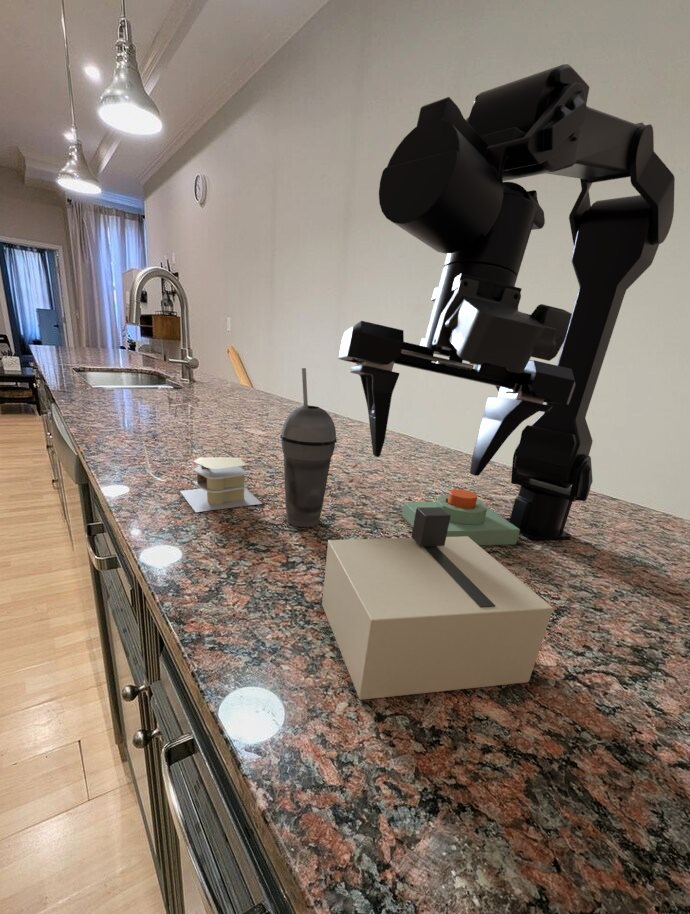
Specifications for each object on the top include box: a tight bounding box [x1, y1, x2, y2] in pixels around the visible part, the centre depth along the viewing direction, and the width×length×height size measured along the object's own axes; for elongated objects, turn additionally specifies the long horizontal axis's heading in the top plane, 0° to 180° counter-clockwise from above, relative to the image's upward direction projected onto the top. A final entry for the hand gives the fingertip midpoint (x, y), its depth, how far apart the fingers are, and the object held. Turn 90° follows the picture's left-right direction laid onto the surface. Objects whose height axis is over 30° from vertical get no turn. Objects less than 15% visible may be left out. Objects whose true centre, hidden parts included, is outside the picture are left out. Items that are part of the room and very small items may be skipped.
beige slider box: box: [321, 536, 554, 701], centre depth 38 cm, size 14×12×7 cm
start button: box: [448, 488, 479, 509], centre depth 60 cm, size 4×4×2 cm
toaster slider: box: [411, 507, 451, 546], centre depth 40 cm, size 2×2×3 cm
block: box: [401, 494, 520, 546], centre depth 61 cm, size 12×10×4 cm
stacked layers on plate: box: [179, 456, 263, 513], centre depth 66 cm, size 10×9×6 cm
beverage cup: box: [279, 367, 338, 528], centre depth 58 cm, size 7×7×20 cm
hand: (425, 465), depth 40 cm, fingers open, 9 cm apart
